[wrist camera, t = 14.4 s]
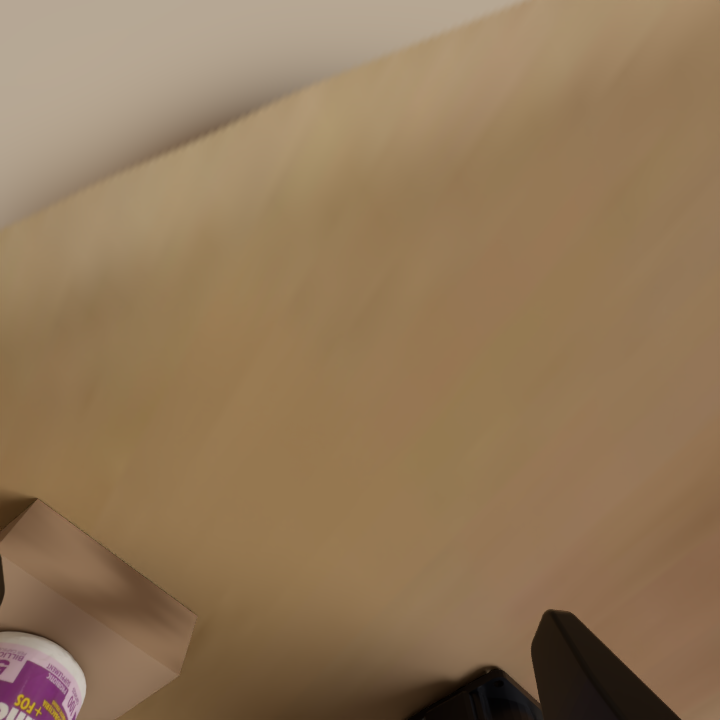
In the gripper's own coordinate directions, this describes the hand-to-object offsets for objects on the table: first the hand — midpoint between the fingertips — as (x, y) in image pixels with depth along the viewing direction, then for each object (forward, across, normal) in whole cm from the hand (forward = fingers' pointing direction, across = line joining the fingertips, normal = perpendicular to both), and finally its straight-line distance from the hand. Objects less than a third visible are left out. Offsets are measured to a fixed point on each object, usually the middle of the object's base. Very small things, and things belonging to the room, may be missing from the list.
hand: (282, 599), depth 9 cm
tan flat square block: (+12, +10, +15) cm, 22 cm away
